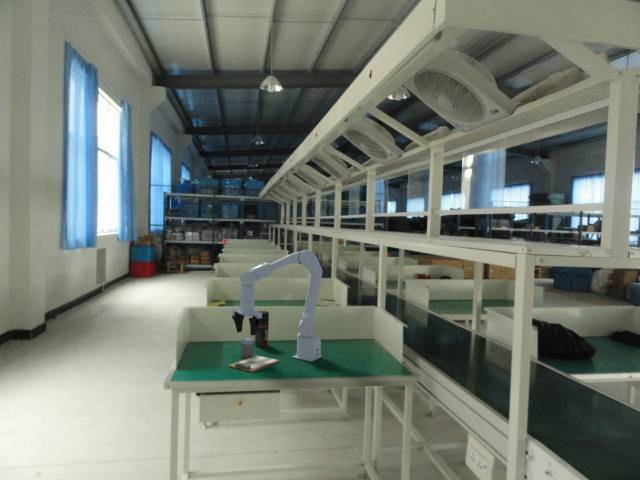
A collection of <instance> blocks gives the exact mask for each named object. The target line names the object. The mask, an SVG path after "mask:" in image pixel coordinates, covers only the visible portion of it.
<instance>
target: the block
mask: <svg viewBox="0 0 640 480" xmlns="http://www.w3.org/2000/svg"><path fill="white" fill-rule="evenodd" d="M254 341H255V338H248V337H247V338H242V339H241V340H240V346H241V347H240V358H243V359H247V358H250V357H252V356H254Z"/></svg>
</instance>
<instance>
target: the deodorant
mask: <svg viewBox="0 0 640 480" xmlns="http://www.w3.org/2000/svg"><path fill="white" fill-rule="evenodd" d="M257 312H260V313H262V320H261V321H260V323H259V325H258V328H257V331H256V334H255V335H254V347H256V348H266V346H267V347H268V346H269V325H270V323H269V321H270V320H269V318H270V317H269V316H270V312H269V311H266V310H258V311H257Z"/></svg>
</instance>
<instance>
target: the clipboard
mask: <svg viewBox="0 0 640 480" xmlns="http://www.w3.org/2000/svg"><path fill="white" fill-rule="evenodd" d="M280 362H281V360H280V359H276V358H270V357H266V356H261V355H257V354H256V355H253V356H252V357H250V358H243V359H242V360H239V361H236V362H234V363H231V364H229V365H228V367H229V368H232V369H236V370H241V371H245V372H249V373H257V372H259V371H262V370H264V369H266V368H268V367H270V366H273V365H275V364H278V363H280Z"/></svg>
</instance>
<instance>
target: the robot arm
mask: <svg viewBox="0 0 640 480" xmlns="http://www.w3.org/2000/svg"><path fill="white" fill-rule="evenodd" d="M299 263H300V264H301V265H302V266H304V267H305V268H306V269H307V270H308V271H309V273H310V278H309V283H308V288H307V293H306V298H305V302H304V308H303V313H302V317H301V318H300V320H299V321H298V333H297V334H296V335H297V337H296V354H295V355H293V356H292V358H294V359H298V360H303V361H306V362H307V361H308V362H314V361H316V360H318V359H320V358H322V357H323V355H321V354H322V351H321V350H322V341H321V339H320V338H319V337H317V336H316V334H315V333H314V332H315V326H314V321H315V312H316V308H317V303H318V299H319V298H318V297H319V293H320V288H321V287H320V286H321V282H322V278H323V269H322V266H321V263H320V262H319V259H318V257H317V256H316V254H315V253H314V252H313V251H311V250H310V249H303V250H301V251H297V252H292V253H290V254H288V255H286V256H283V257H282V258H280V259H277V260H275V261H273V262H271V263H270V262H268V261H265V262H264V261H263V262H260V264H259V265H257V266H253V267H250V268H249V270H245V271H244V272H242V273H241V275H240V282H241V285H240V293H239V295H240V296H239V297H240V299H239V308H232V312H231V313H232V314H233V315H231V318H232V320H233V322H234V325H235V330H236V332H237V333H238V334H239V333H242V331H243V324H244V323H243V322H244V319H245V316H246V317H248V321H249V326H250V336H255V334H256V331H257V328H258V325H259V323H260V321H261V320H262V313H260V312H257V311H256V310H255V295H256V289H255V282H259V281H261V280H263V279H266V278H268V277H270V276H272V275H273V274H274V271H276V270H278V269H281V268H284V267H286V266H288V265H291V264H296V265H298V264H299Z"/></svg>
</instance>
